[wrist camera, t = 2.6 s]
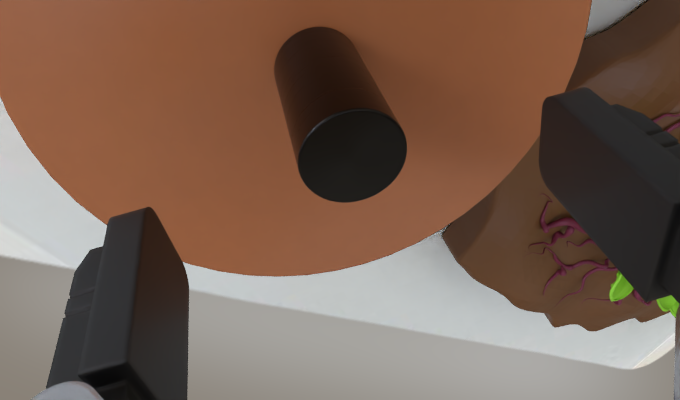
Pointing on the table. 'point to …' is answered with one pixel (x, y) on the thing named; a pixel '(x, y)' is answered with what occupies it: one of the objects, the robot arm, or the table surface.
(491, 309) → the table surface
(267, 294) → the table surface
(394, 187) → the pot lid
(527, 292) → the plant
